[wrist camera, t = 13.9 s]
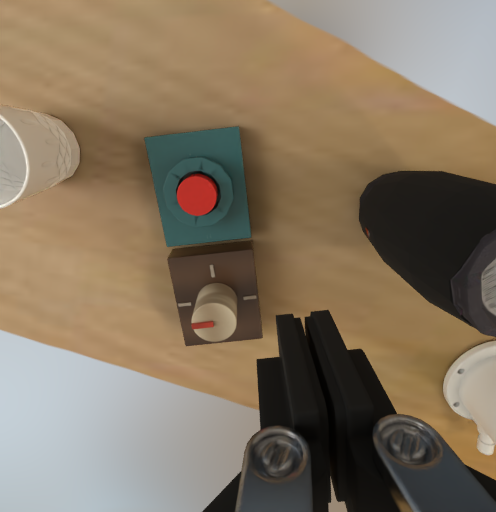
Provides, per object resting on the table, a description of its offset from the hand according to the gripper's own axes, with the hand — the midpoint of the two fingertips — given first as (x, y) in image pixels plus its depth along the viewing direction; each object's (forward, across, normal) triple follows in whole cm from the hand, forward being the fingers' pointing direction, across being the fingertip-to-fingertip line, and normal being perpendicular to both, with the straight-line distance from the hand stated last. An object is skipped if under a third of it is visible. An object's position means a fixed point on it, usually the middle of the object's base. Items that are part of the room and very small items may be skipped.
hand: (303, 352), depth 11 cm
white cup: (+27, +21, -7) cm, 35 cm away
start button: (+24, +6, -2) cm, 24 cm away
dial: (+24, +6, +11) cm, 27 cm away
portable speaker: (+27, -14, +3) cm, 31 cm away
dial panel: (+27, +6, +10) cm, 30 cm away
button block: (+27, +6, -2) cm, 28 cm away
